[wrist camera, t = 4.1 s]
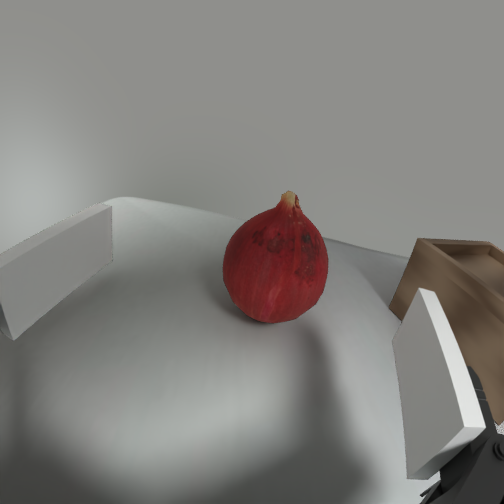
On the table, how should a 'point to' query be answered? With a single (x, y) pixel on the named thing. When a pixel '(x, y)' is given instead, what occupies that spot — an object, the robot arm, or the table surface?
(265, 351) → the table surface
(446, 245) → the walnut tray
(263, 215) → the onion
